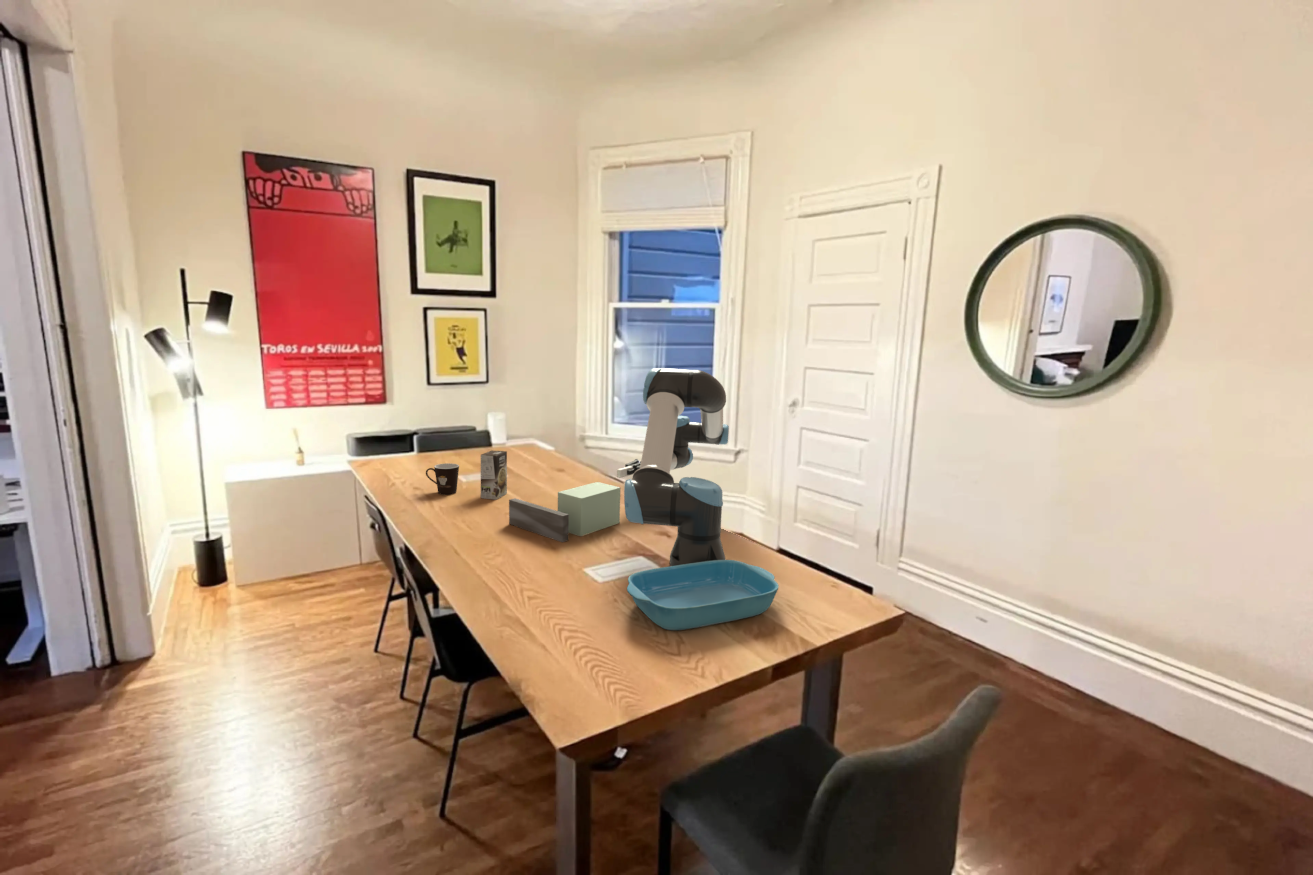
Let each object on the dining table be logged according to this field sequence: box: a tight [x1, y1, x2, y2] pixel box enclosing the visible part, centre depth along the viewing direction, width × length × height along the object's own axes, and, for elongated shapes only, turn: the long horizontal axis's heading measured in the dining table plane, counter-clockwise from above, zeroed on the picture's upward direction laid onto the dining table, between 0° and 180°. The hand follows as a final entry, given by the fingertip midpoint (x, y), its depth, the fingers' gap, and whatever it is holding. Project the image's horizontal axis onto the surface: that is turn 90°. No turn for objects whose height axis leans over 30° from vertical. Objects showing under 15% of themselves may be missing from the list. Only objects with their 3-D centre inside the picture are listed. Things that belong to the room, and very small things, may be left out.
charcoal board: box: [508, 497, 570, 543], centre depth 193 cm, size 2×24×8 cm, turn 52°
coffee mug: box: [425, 463, 460, 496], centre depth 233 cm, size 12×9×10 cm
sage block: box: [557, 481, 622, 537], centre depth 201 cm, size 18×10×12 cm, turn 143°
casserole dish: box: [626, 559, 780, 631], centre depth 146 cm, size 37×22×7 cm, turn 117°
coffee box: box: [480, 449, 508, 501], centre depth 229 cm, size 9×6×16 cm
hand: (618, 473), depth 210 cm, fingers closed
